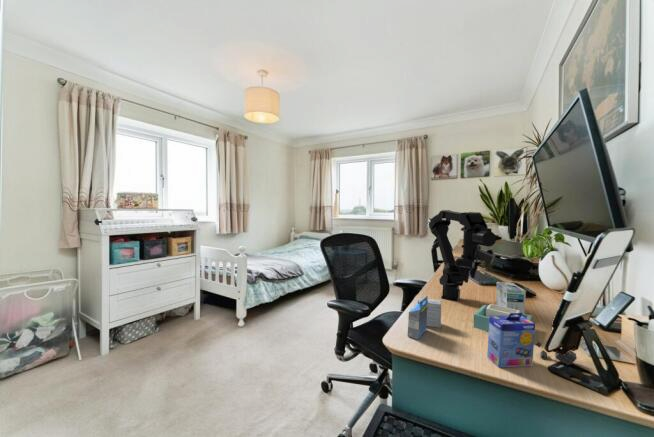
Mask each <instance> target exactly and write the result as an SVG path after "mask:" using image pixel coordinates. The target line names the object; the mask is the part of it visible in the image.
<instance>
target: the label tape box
mask: <svg viewBox="0 0 654 437" xmlns="http://www.w3.org/2000/svg"><path fill="white" fill-rule="evenodd" d="M428 297H429V296H428V295H426V296H425V297H423V298H424V299H423V300H421V301H420V302H419V304H418V303H416V304H415V306H414V307H413V308H412V309H411V310H409V312H408V317H407V318H408V320H407V337H409V338H411V337H412V339H414V338H415V340H420V339H421V337H422V335H423V334H424V333H425V331H426V330H427V326H426V322H427V304H428V299H429V298H428ZM423 302H425V303H423Z"/></svg>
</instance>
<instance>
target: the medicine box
mask: <svg viewBox="0 0 654 437" xmlns="http://www.w3.org/2000/svg"><path fill="white" fill-rule="evenodd" d="M424 298H425V297H423V298H422V297H418V298H417V304H419V302H420V301H421V300H423V299H424ZM423 303H425V302H423ZM426 327H433V328H441V327H442V301H441V299H440V300H439V299H432V298H431V299H430V298H428V304H427V322H426Z"/></svg>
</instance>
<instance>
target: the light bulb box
mask: <svg viewBox="0 0 654 437" xmlns="http://www.w3.org/2000/svg"><path fill="white" fill-rule="evenodd" d="M526 294H527V290H526V289H524V288H523V287H520V286H519V285H516V284H515V283H513V282H502V281H497V282H496V294H495V295H496V299H495V300H496V301H495V305H498V306H502V307H507V308H511V309H515V310H520V313H523V314H526V297H527V296H526Z"/></svg>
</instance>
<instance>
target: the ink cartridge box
mask: <svg viewBox="0 0 654 437" xmlns="http://www.w3.org/2000/svg"><path fill="white" fill-rule="evenodd" d="M522 314H523V313H510V314H509V315H508V316H503V315H501V316H489V332H488V340H487V358H488V359H490V360H491V362H493V363H494V365H496V366H497V367H498V368H517V367H518V368H519V367H520V368H521V367H522V368H526V367H528V368H529V367H532V366H533V360H534V359H533V357H534V346H535V345H534V344H535V335H536V323H535V322H533V321H530V320H529V319H527V318H525V317H523V316H522Z"/></svg>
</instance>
